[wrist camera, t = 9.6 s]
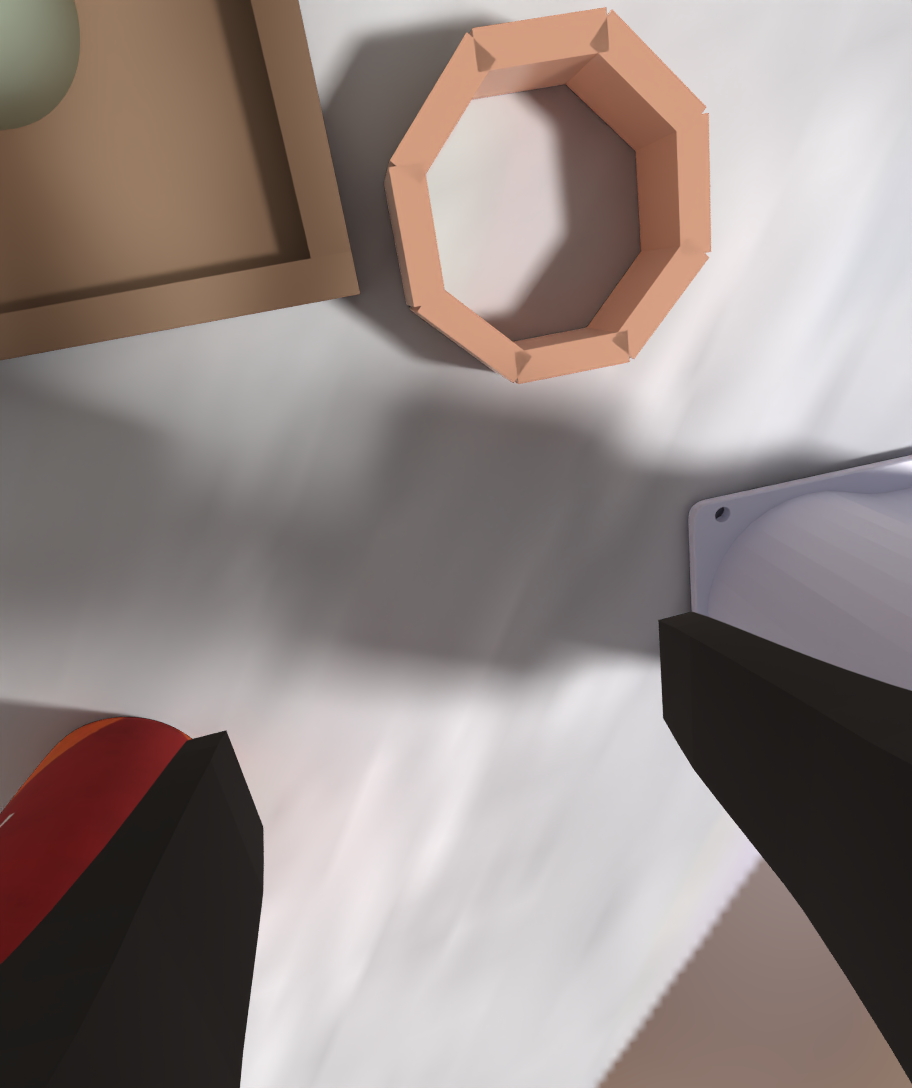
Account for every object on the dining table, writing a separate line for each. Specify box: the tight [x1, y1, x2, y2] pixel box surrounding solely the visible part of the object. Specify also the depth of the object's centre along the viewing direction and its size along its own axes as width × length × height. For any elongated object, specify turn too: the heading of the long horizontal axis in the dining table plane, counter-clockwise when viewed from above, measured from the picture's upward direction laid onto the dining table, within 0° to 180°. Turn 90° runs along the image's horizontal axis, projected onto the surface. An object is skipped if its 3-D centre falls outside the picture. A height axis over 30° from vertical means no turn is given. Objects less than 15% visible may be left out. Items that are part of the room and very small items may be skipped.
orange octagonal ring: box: [384, 7, 711, 384], centre depth 17 cm, size 8×8×2 cm
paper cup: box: [0, 717, 192, 964], centre depth 16 cm, size 8×8×14 cm
